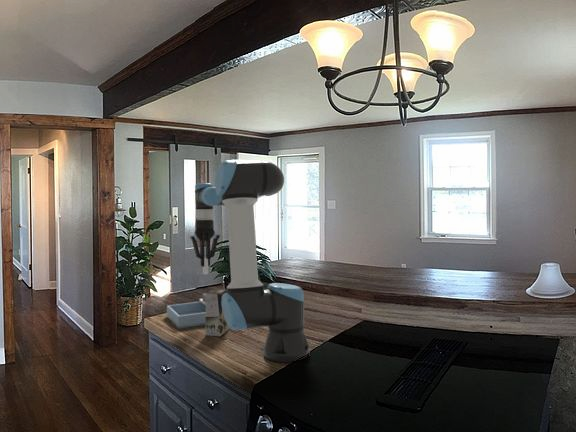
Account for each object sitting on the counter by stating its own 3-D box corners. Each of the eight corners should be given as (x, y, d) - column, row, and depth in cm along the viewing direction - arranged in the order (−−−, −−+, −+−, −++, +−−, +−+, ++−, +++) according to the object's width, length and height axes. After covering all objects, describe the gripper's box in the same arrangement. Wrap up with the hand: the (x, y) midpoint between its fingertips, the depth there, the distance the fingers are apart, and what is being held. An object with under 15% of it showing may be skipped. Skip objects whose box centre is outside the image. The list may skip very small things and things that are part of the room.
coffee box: (221, 336, 163) (220, 294, 163) (205, 335, 165) (204, 293, 164) (229, 329, 172) (228, 288, 172) (214, 328, 174) (213, 288, 173)
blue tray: (226, 321, 183) (226, 309, 183) (178, 328, 173) (178, 316, 173) (210, 311, 200) (210, 300, 200) (166, 316, 191) (166, 305, 191)
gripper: (216, 218, 194) (217, 271, 194) (187, 219, 187) (188, 273, 188) (222, 219, 187) (222, 273, 188) (192, 220, 181) (193, 276, 181)
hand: (205, 273), depth 188 cm, fingers closed
